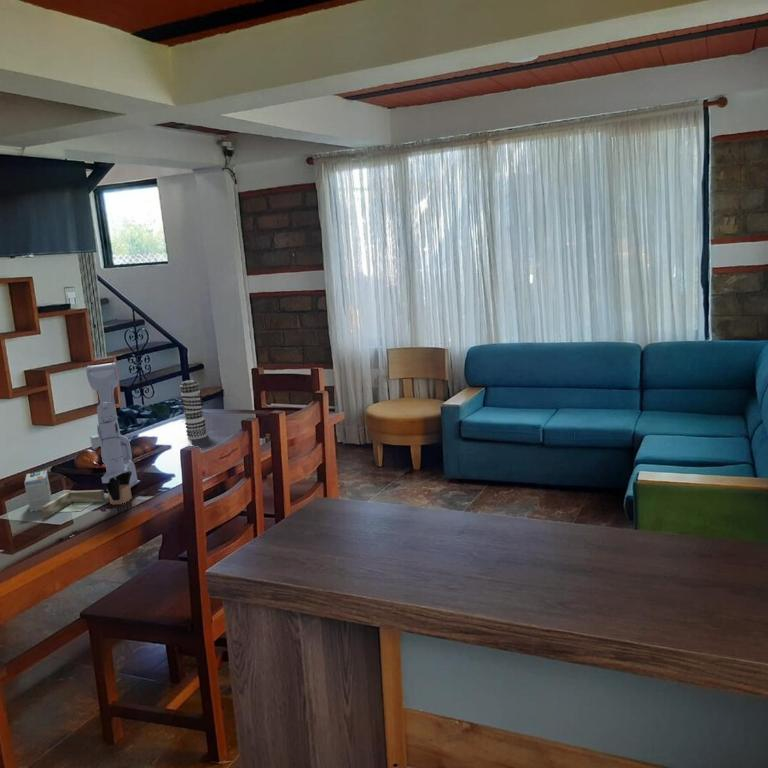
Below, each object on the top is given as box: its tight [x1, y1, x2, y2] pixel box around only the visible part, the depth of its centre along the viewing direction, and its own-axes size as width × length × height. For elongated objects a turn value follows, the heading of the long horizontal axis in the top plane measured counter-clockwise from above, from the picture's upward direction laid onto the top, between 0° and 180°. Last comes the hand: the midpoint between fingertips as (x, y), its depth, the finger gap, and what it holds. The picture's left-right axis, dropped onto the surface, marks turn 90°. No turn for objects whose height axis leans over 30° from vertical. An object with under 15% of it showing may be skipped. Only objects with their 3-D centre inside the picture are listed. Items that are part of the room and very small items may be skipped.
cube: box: [107, 484, 133, 505], centre depth 247 cm, size 5×5×5 cm
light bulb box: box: [24, 470, 53, 513], centre depth 251 cm, size 11×7×11 cm, turn 22°
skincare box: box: [89, 434, 101, 449], centre depth 296 cm, size 6×4×12 cm
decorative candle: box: [179, 379, 208, 440], centre depth 325 cm, size 9×9×25 cm
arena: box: [41, 489, 106, 518], centre depth 245 cm, size 15×13×4 cm
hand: (120, 496), depth 247 cm, fingers closed on cube, 5 cm apart
